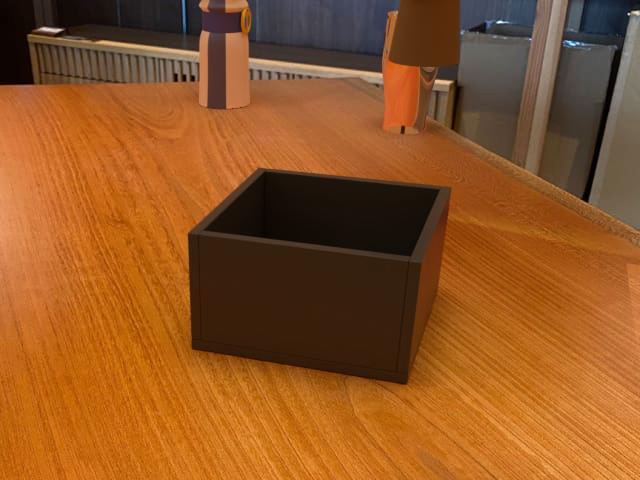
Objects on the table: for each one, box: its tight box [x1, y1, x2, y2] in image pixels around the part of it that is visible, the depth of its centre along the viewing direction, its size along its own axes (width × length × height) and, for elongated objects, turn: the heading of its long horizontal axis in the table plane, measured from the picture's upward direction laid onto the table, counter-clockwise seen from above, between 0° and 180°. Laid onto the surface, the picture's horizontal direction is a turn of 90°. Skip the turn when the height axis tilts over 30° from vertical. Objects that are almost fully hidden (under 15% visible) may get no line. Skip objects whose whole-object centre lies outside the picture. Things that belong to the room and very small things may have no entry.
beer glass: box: [381, 9, 439, 135], centre depth 104 cm, size 7×7×15 cm
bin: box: [187, 167, 453, 385], centre depth 63 cm, size 16×16×9 cm
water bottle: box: [198, 0, 252, 110], centre depth 119 cm, size 8×9×25 cm
